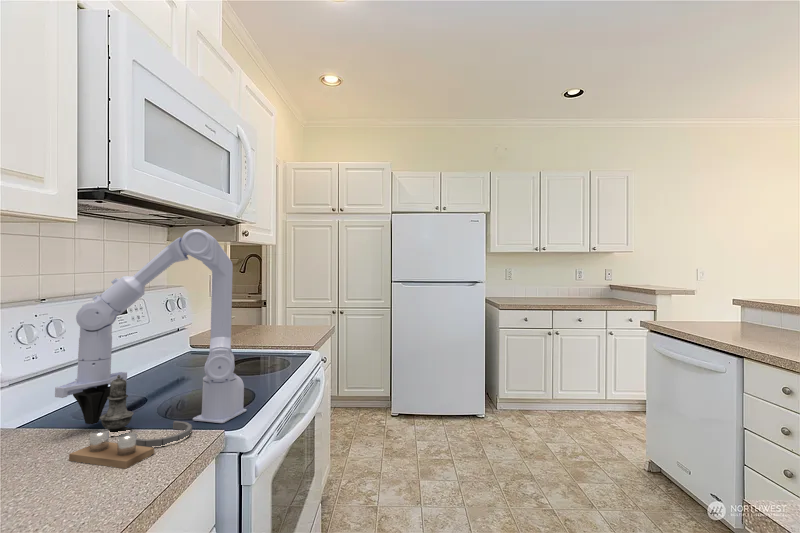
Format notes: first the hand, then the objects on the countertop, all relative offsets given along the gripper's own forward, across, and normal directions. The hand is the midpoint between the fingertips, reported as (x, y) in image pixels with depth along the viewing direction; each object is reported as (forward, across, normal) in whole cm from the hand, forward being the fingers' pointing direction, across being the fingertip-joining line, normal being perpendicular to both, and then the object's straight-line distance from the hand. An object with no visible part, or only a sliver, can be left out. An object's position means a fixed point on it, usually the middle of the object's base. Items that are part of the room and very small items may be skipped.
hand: (92, 423), depth 87 cm
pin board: (+1, +10, +16) cm, 19 cm away
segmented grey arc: (+1, 0, +19) cm, 19 cm away
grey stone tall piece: (+2, 0, +6) cm, 6 cm away
